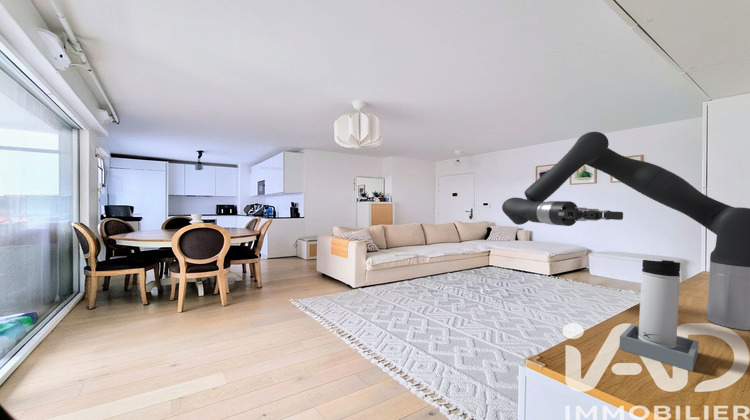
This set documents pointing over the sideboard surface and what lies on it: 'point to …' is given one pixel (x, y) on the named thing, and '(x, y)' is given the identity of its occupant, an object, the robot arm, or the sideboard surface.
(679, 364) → the tray
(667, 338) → the travel mug
